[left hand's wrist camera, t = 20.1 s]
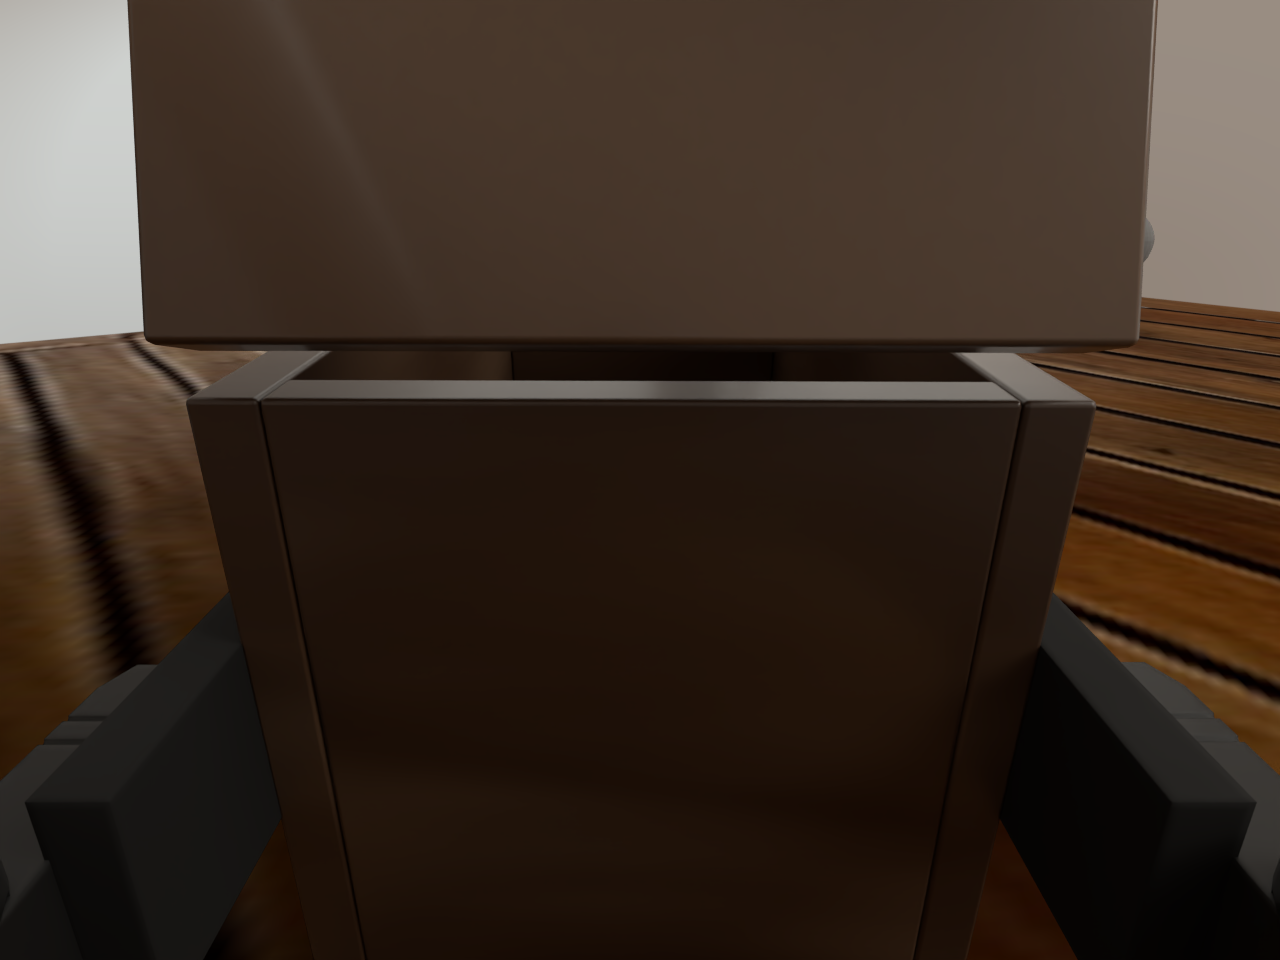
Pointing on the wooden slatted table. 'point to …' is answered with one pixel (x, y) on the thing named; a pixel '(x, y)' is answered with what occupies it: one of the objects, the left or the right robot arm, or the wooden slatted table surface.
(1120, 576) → the wooden slatted table surface
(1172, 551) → the wooden slatted table surface
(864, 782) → the chest
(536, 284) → the lid
